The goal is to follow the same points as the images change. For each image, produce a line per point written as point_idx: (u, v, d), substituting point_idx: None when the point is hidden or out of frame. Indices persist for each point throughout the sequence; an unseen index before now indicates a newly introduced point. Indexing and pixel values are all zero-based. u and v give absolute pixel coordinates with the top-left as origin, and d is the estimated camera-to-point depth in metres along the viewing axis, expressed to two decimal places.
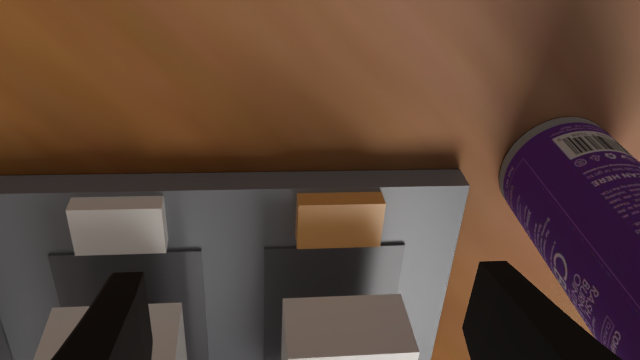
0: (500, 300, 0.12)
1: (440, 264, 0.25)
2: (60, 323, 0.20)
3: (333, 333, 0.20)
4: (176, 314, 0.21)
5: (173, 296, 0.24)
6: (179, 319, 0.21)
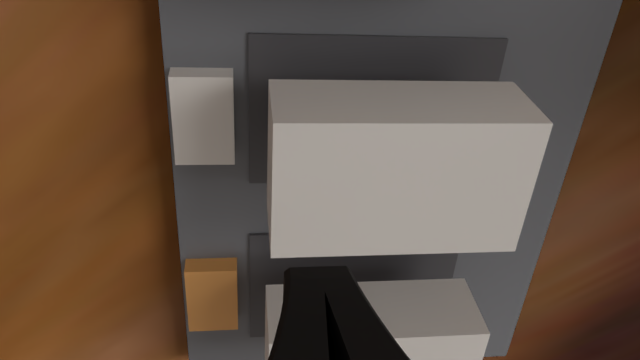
0: (325, 307, 0.11)
1: None
2: None
3: None
4: (269, 92, 0.17)
5: (317, 70, 0.20)
6: (271, 90, 0.17)
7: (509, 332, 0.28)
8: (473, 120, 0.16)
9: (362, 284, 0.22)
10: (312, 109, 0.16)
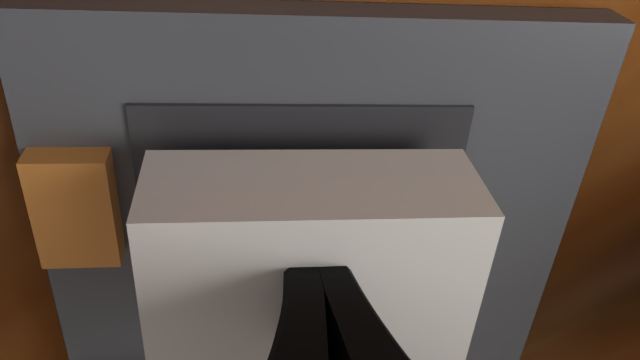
0: (326, 307, 0.11)
1: (172, 34, 0.14)
2: None
3: None
4: None
5: None
6: None
7: None
8: None
9: None
10: None
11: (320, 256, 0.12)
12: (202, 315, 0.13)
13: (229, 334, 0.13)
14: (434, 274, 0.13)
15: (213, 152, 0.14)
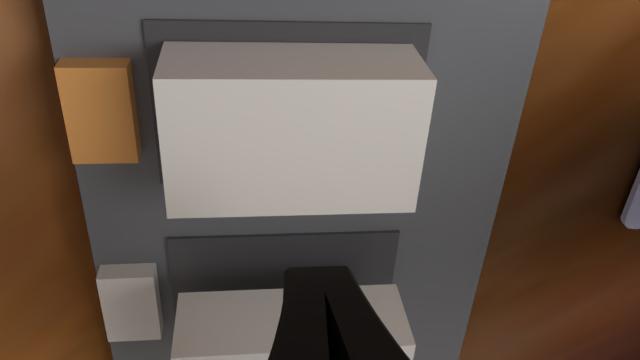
0: (325, 307, 0.11)
1: None
2: None
3: None
4: (177, 308, 0.20)
5: (231, 263, 0.23)
6: (178, 309, 0.20)
7: None
8: None
9: None
10: (208, 336, 0.19)
11: (297, 111, 0.16)
12: (209, 161, 0.17)
13: (229, 179, 0.17)
14: (386, 129, 0.17)
15: (216, 43, 0.18)
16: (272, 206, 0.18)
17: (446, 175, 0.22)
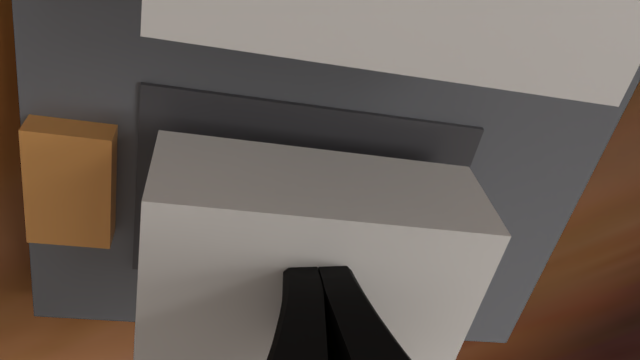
0: (326, 307, 0.11)
1: None
2: None
3: None
4: None
5: None
6: None
7: (517, 308, 0.20)
8: None
9: (313, 151, 0.14)
10: None
11: None
12: None
13: None
14: None
15: None
16: None
17: None
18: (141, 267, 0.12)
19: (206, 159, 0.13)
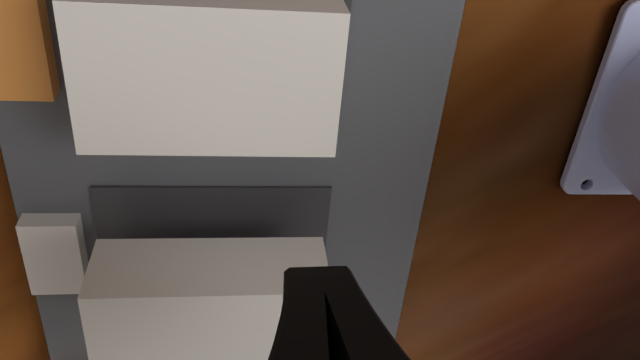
0: (325, 307, 0.11)
1: None
2: None
3: None
4: (92, 254, 0.19)
5: (158, 215, 0.22)
6: (93, 254, 0.19)
7: None
8: (263, 290, 0.18)
9: None
10: (120, 279, 0.18)
11: (207, 42, 0.16)
12: (116, 93, 0.16)
13: (139, 114, 0.17)
14: (300, 66, 0.16)
15: None
16: (186, 145, 0.17)
17: (377, 129, 0.21)
18: None
19: None
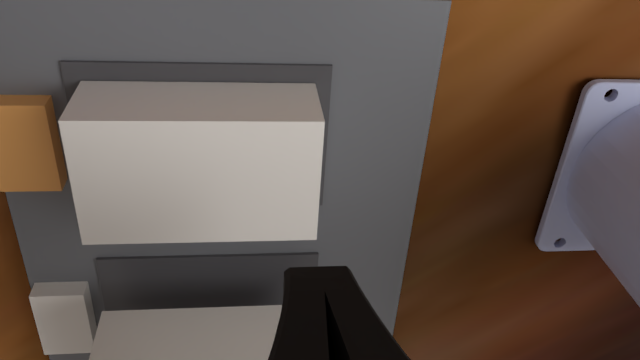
0: (325, 307, 0.11)
1: (92, 6, 0.18)
2: None
3: None
4: (99, 326, 0.21)
5: (159, 281, 0.24)
6: (99, 327, 0.21)
7: None
8: None
9: None
10: (123, 353, 0.20)
11: (196, 149, 0.18)
12: (117, 193, 0.18)
13: (138, 209, 0.19)
14: (281, 165, 0.18)
15: (130, 82, 0.19)
16: (180, 234, 0.19)
17: (359, 202, 0.23)
18: None
19: None
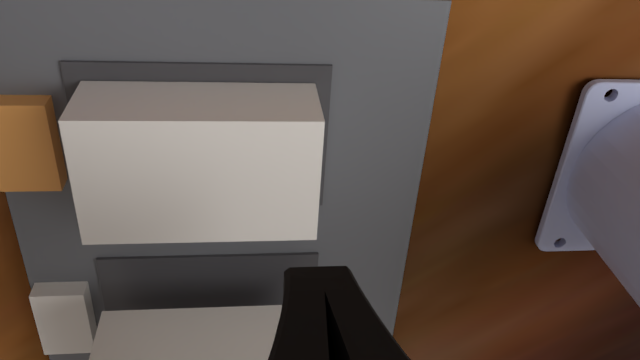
0: (325, 307, 0.11)
1: (92, 6, 0.18)
2: None
3: None
4: (99, 326, 0.21)
5: (159, 281, 0.24)
6: (99, 327, 0.21)
7: None
8: None
9: None
10: (123, 353, 0.20)
11: (196, 149, 0.18)
12: (117, 193, 0.18)
13: (138, 209, 0.19)
14: (281, 165, 0.18)
15: (130, 82, 0.19)
16: (180, 234, 0.19)
17: (359, 202, 0.23)
18: None
19: None
